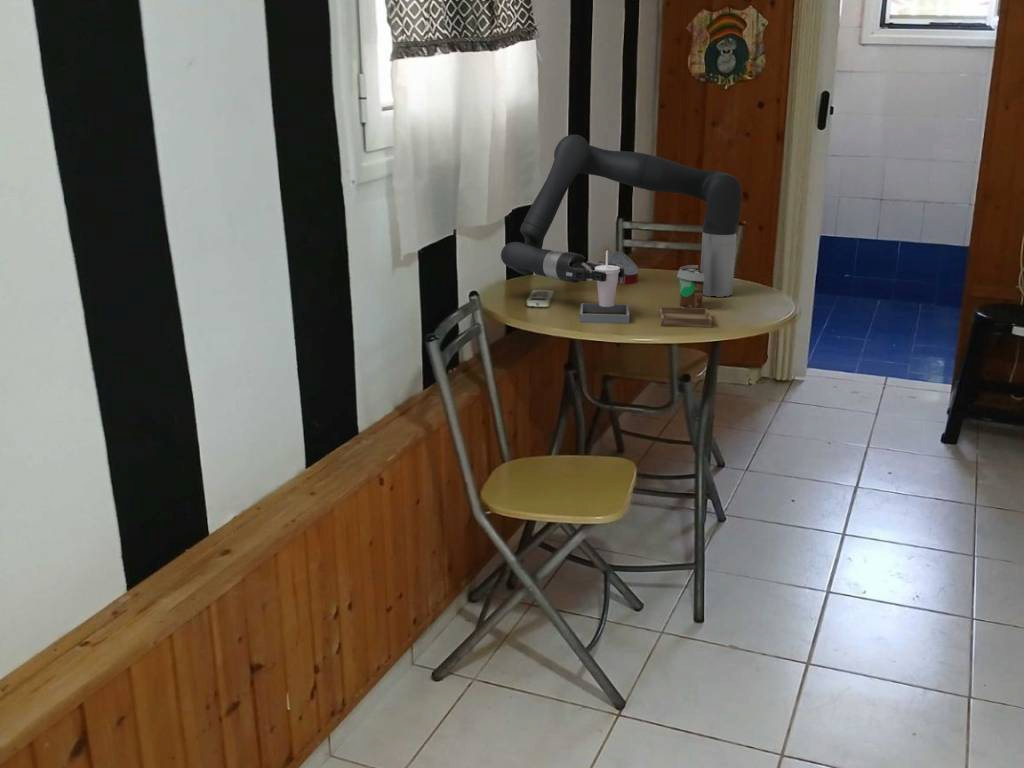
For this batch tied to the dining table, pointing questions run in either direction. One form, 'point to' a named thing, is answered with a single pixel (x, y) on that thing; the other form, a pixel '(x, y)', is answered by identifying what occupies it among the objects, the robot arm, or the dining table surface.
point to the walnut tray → (685, 317)
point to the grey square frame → (604, 317)
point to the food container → (691, 286)
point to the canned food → (627, 265)
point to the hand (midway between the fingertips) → (614, 275)
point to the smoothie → (607, 284)
